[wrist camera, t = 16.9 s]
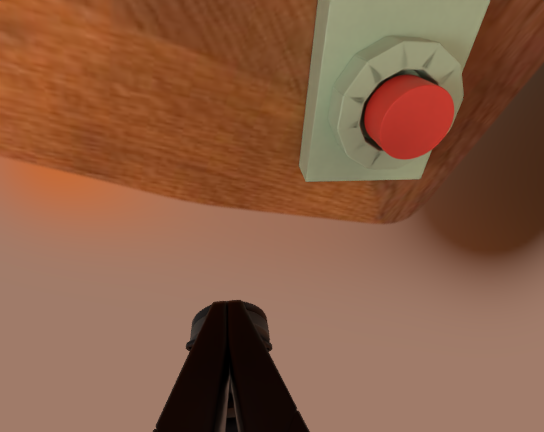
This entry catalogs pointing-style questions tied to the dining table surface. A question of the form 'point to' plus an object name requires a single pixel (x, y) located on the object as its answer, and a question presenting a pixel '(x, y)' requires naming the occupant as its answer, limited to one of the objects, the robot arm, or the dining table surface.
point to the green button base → (377, 77)
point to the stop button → (408, 116)
